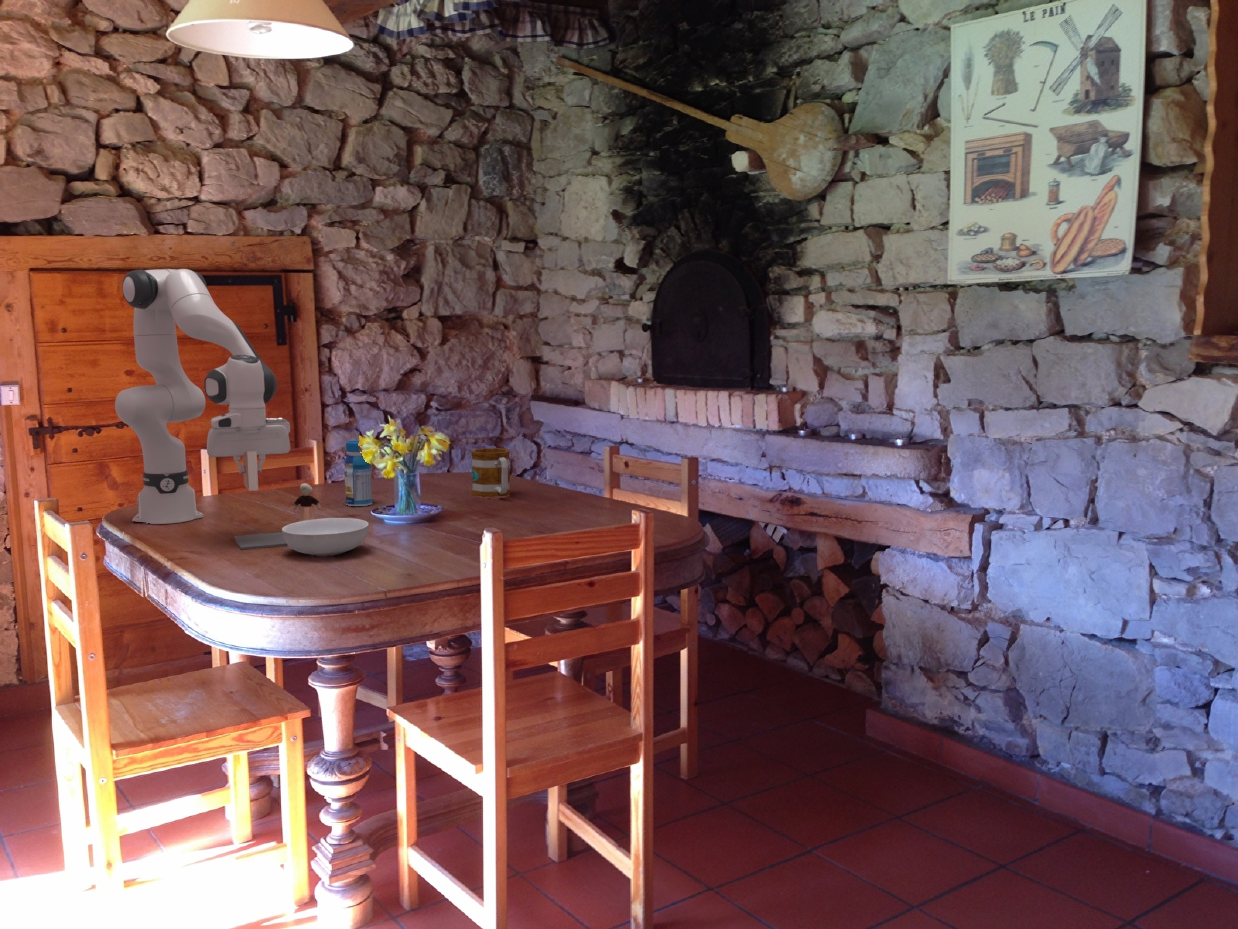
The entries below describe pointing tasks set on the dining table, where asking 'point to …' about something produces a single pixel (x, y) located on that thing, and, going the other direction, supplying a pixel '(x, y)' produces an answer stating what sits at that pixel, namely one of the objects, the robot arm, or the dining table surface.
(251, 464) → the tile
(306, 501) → the grandmother figurine
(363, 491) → the beverage bottle
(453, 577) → the dining table surface
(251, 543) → the mat
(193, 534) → the dining table surface
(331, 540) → the serving bowl
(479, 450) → the mug
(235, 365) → the robot arm
